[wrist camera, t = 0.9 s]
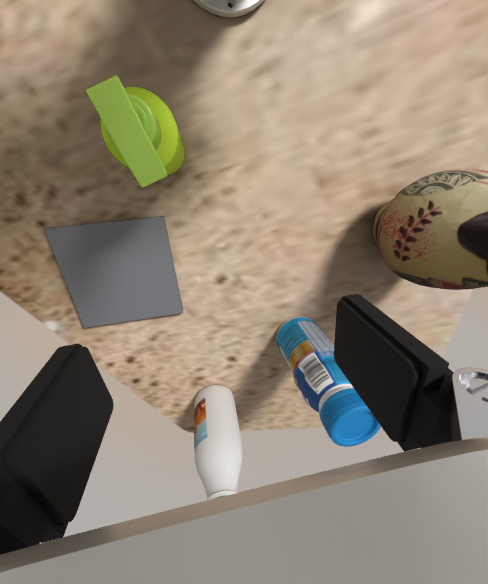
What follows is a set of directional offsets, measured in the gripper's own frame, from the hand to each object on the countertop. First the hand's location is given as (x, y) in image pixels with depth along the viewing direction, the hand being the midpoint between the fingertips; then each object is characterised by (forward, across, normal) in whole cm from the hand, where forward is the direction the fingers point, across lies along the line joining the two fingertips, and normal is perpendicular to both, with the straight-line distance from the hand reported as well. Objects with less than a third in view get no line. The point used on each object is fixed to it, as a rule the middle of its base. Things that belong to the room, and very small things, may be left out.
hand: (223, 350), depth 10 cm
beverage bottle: (+30, -13, +23) cm, 40 cm away
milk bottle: (+29, +4, +34) cm, 45 cm away
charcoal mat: (+30, +13, +6) cm, 33 cm away
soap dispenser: (+30, +4, -8) cm, 32 cm away
